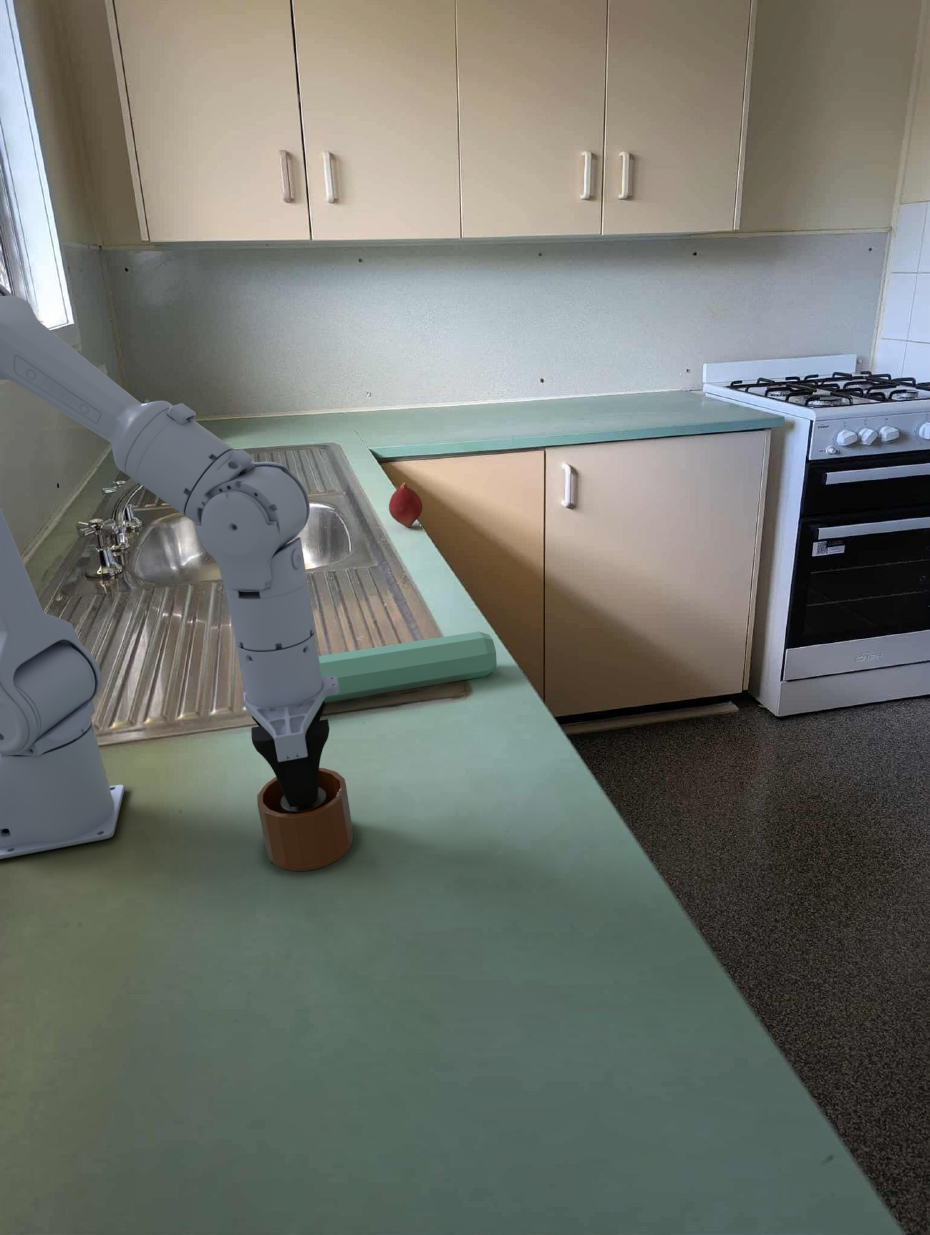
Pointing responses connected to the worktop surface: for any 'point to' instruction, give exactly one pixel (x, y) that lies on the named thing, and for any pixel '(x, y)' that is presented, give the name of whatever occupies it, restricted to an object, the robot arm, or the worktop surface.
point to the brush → (305, 808)
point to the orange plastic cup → (306, 826)
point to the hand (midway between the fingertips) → (302, 793)
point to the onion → (405, 505)
